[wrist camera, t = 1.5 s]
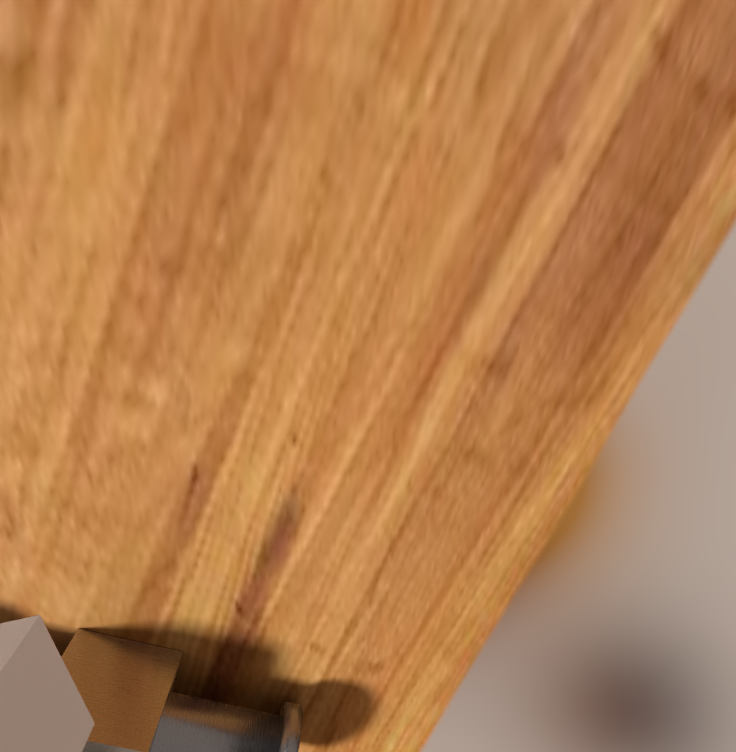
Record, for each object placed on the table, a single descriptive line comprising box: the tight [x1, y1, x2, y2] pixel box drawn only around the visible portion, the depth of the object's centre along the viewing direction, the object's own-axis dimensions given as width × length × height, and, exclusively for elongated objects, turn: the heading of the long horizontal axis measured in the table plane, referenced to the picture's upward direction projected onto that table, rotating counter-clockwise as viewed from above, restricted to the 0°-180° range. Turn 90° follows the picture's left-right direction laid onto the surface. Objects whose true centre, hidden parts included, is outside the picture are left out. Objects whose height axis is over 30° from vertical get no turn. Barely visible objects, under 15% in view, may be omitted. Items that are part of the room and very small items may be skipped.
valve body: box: [61, 628, 303, 752], centre depth 42 cm, size 28×8×10 cm, turn 72°
